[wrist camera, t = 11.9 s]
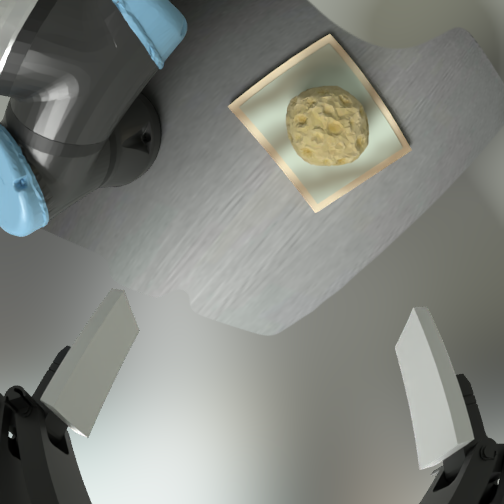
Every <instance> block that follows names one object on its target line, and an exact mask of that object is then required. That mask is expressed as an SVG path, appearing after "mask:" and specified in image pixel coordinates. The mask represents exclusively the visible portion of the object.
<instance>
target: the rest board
mask: <svg viewBox="0 0 504 504" xmlns="http://www.w3.org/2000/svg"><path fill="white" fill-rule="evenodd" d="M319 86H320V87H322V86H339V87H341V88H342V89H344V90H346V91H348V92H349V93H350V94H351V95H353V96H354V97H355V98H356V99H357V100H358V101H359V102H360V103H361V104H362V105H363V107H364V111H365V113H366V115H367V118H368V124H369V143H368V146H367V147H366V149H365V150H364V152H363V153H362V154H361V155H360V157H359V158H358V159H356V160H355V161H354V162H352V163H347V164H344V165H339V166H332V165H331V166H316V165H311V164H309V163H307V162H305V161H304V160H303V159H302V158H301V157H300V156H299V155H297V153H296V151H295V150H294V149H293V146H292V145H291V142H290V140H289V138H288V132H287V127H286V113H287V107H288V104H289V103H290V100H291V99H292V98H293V97H295V96H298V95H299V94H300V93H302V92H303V91H306V90H307V89H310V88H313V87H319ZM228 107H229V109H230V110H231V111H232V112H233V113H234V114H235V115H236V116H237V117H238V119H239V120H240V121H241V122H242V123H243V124H244V125H245V126H246V128H247V129H248V130H249V131H250V132H251V133H252V135H253V136H254V137H255V138H256V139H257V140H258V142H259V143H260V144H261V145H262V146H263V147H264V149H265V150H266V151H267V152H268V153H269V155H270V156H271V157H272V158H273V160H274V161H275V162H276V163H277V164H278V166H279V167H280V168H281V169H282V171H283V172H284V173H285V174H286V176H287V177H288V178H289V179H290V181H291V182H292V183H293V184H294V186H295V187H296V188H297V190H298V191H299V192H300V193H301V195H302V196H303V197H304V199H305V200H306V201H307V203H308V204H309V205H310V207H311V208H312V209H313V211H314V212H315V213H317V212H318V211H320V210H321V209H323V208H324V207H326V206H327V205H329V204H330V203H332V202H334V201H335V200H337V199H338V198H340V197H341V196H343V195H344V194H346V193H347V192H349V191H350V190H352V189H353V188H355V187H356V186H358V185H360V184H361V183H363V182H364V181H366V180H367V179H369V178H370V177H372V176H373V175H375V174H376V173H378V172H379V171H381V170H382V169H384V168H386V167H387V166H389V165H390V164H392V163H393V162H395V161H396V160H398V159H399V158H401V157H402V156H404V155H405V154H407V153H408V152H410V151H411V148H410V146H409V144H408V143H407V141H406V139H405V137H404V135H403V134H402V132H401V130H400V129H399V127H398V125H397V124H396V122H395V120H394V119H393V117H392V115H391V114H390V112H389V111H388V109H387V108H386V106H385V104H384V103H383V101H382V100H381V98H380V97H379V95H378V94H377V93H376V91H375V90H374V88H373V87H372V85H371V84H370V83H369V81H368V80H367V79H366V77H365V76H364V74H363V73H362V72H361V71H360V69H359V68H358V67H357V65H356V64H355V63H354V62H353V60H352V59H351V58H350V57H349V55H348V54H347V53H346V52H345V50H344V49H343V48H342V47H341V46H340V45H339V43H338V42H337V41H336V40H335V39H334V38H333V37H332V36H331V34H328V35H327V36H325V37H323V38H322V39H320V40H319V41H317V42H315V43H314V44H312V45H311V46H309V47H307V48H306V49H304V50H303V51H301V52H300V53H298V54H297V55H295V56H294V57H292V58H291V59H289V60H288V61H287V62H285V63H284V64H282V65H281V66H279V67H278V68H277V69H275V70H274V71H272V72H271V73H270V74H268V75H267V76H266V77H264V78H263V79H262V80H260V81H259V82H258V83H256V84H255V85H254V86H253V87H251V88H250V89H249V90H247V91H246V92H245V93H244V94H242V95H241V96H240V97H239V98H237V99H236V100H235V101H234V102H233V103H231V104H230V105H229V106H228Z"/></svg>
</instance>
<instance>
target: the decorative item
mask: <svg viewBox="0 0 504 504" xmlns="http://www.w3.org/2000/svg"><path fill="white" fill-rule="evenodd" d="M286 127H287V132H288V138H289V140H290V142H291V145H292V146H293V149H294V150H295V151H296V153H297V155H299V156H300V157H301V158H302V159H303V160H304V161H305V162H307V163H309V164H311V165H316V166H331V165H332V166H339V165H344V164H347V163H352V162H354V161H355V160H356V159H358V158H359V157H360V155H361V154H362V153H363V152H364V150H365V149H366V147H367V146H368V143H369V124H368V118H367V115H366V113H365V111H364V107H363V105H362V104H361V103H360V102H359V101H358V100H357V99H356V98H355V97H354V96H353V95H351V94H350V93H349V92H348V91H346V90H344V89H342V88H341V87H339V86H322V87H320V86H319V87H313V88H310V89H307V90H306V91H303V92H302V93H300V94H299V95H298V96H295V97H293V98H292V99H291V100H290V103H289V104H288V107H287V113H286Z"/></svg>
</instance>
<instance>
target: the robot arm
mask: <svg viewBox="0 0 504 504" xmlns="http://www.w3.org/2000/svg"><path fill="white" fill-rule="evenodd" d="M186 32H187V22H186V19H185V17H184V16H183V15H182V13H181V12H180V11H179V10H178V9H177V8H176V7H175V6H174V5H173V4H172V3H171V2H170V1H168V0H0V95H3V96H8V97H11V98H10V101H9V103H8V106H7V109H6V111H5V115H4V118H3V120H2V121H1V122H0V227H2V229H4V230H5V231H6V232H8V233H10V234H11V235H16V236H20V237H22V236H26V235H29V234H30V233H32V232H34V231H35V230H37V229H39V228H41V227H44V226H45V225H47V223H48V222H49V221H50V220H52V219H53V218H54V217H56V216H57V215H59V214H60V213H61V212H63V211H64V210H66V209H67V208H68V207H70V206H71V205H73V204H74V203H76V202H77V201H79V200H80V199H82V198H83V197H85V196H86V195H88V194H90V193H91V192H93V191H94V190H96V189H98V188H106V187H119V186H123V185H127V184H129V183H131V182H133V181H134V180H136V179H138V178H139V177H141V176H142V175H143V174H144V173H146V172H147V171H148V169H149V168H150V167H151V166H152V164H153V162H154V161H155V159H156V156H157V154H158V151H159V147H160V140H161V128H160V122H159V118H158V115H157V113H156V110H155V108H154V107H153V105H152V103H151V102H150V101H149V100H148V99H147V98H146V97H145V96H144V95H143V94H142V93H140V92H141V91H142V90H143V88H144V87H145V86H146V84H147V83H148V82H149V81H150V79H151V78H152V77H153V76H154V74H155V73H156V72H157V71H158V70H159V69H162V68H163V66H164V62H165V60H166V59H167V58H168V57H169V55H170V54H171V53H172V52H173V50H174V49H175V48H176V47H177V46H178V44H179V43H180V42H181V41H182V40H183V38H184V37H185V35H186ZM139 331H140V330H139V328H138V326H137V323H136V320H135V318H134V315H133V313H132V310H131V308H130V305H129V302H128V299H127V296H126V293H125V291H124V290H118V289H111V290H110V292H109V293H108V295H107V296H106V297H105V298H104V300H103V302H102V303H101V304H100V306H99V307H98V308H97V310H96V311H95V313H94V314H93V315H92V317H91V318H90V320H89V321H88V323H87V324H86V326H85V327H84V328H83V330H82V331H81V333H80V334H79V336H78V337H77V339H76V341H75V342H74V344H73V345H72V347H70V346H66V347H65V348H64V349H63V350H61V351H60V352H59V353H58V355H57V356H56V358H55V360H54V361H53V363H52V364H51V366H50V367H49V370H48V371H47V372H46V374H45V376H44V377H43V379H42V381H41V382H40V384H39V386H38V388H37V389H36V391H35V393H34V394H33V396H32V397H31V396H30V395H29V394H28V393H27V392H26V391H25V390H24V389H23V388H22V387H21V386H13V387H11V388H9V389H8V391H7V392H6V394H5V396H2V394H1V393H0V504H92V503H91V501H90V498H89V496H88V493H87V491H86V488H85V485H84V482H83V480H82V477H81V474H80V471H79V468H78V465H77V462H76V458H75V455H74V451H73V448H72V444H71V440H70V437H69V433H68V431H67V427H68V426H69V427H70V428H71V429H72V430H73V431H75V432H76V433H79V434H80V435H82V436H85V437H87V438H88V437H89V435H90V433H91V430H92V428H93V426H94V424H95V421H96V419H97V417H98V414H99V412H100V410H101V408H102V406H103V403H104V401H105V399H106V397H107V395H108V393H109V391H110V389H111V387H112V384H113V382H114V380H115V378H116V376H117V374H118V372H119V370H120V368H121V366H122V364H123V361H124V360H125V358H126V356H127V354H128V352H129V350H130V348H131V346H132V344H133V342H134V340H135V339H136V336H137V335H138V333H139ZM395 350H396V354H397V357H398V361H399V365H400V368H401V372H402V377H403V381H404V385H405V389H406V394H407V398H408V403H409V408H410V413H411V418H412V423H413V429H414V435H415V441H416V447H417V454H418V462H419V469H424V468H428V467H431V466H435V465H437V464H438V463H440V462H442V461H443V466H441V467H439V468H438V469H436V470H434V471H433V473H432V474H431V475H432V476H433V475H434V474H437V473H438V474H437V476H436V478H435V479H434V481H433V483H432V485H431V486H430V488H429V490H428V491H427V493H426V494H425V496H424V497H423V499H422V501H421V502H420V503H419V504H504V444H496V442H495V441H494V440H493V439H491V438H488V437H487V436H486V433H485V431H484V426H483V422H482V419H481V415H480V412H479V409H478V405H477V404H476V399H475V396H474V395H473V390H472V387H471V384H470V382H469V381H468V380H467V378H466V377H465V376H464V374H459V375H455V372H454V369H453V367H452V364H451V361H450V358H449V356H448V353H447V351H446V348H445V346H444V343H443V341H442V338H441V336H440V334H439V332H438V329H437V327H436V325H435V322H434V320H433V318H432V316H431V314H430V312H429V310H428V307H414V308H413V310H412V312H411V314H410V317H409V319H408V321H407V324H406V326H405V328H404V330H403V332H402V334H401V336H400V338H399V340H398V342H397V344H396V346H395ZM9 432H11V433H12V434H13V436H12V438H10V437H8V434H9ZM498 479H500V480H499V485H498V484H497V481H498Z"/></svg>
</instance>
